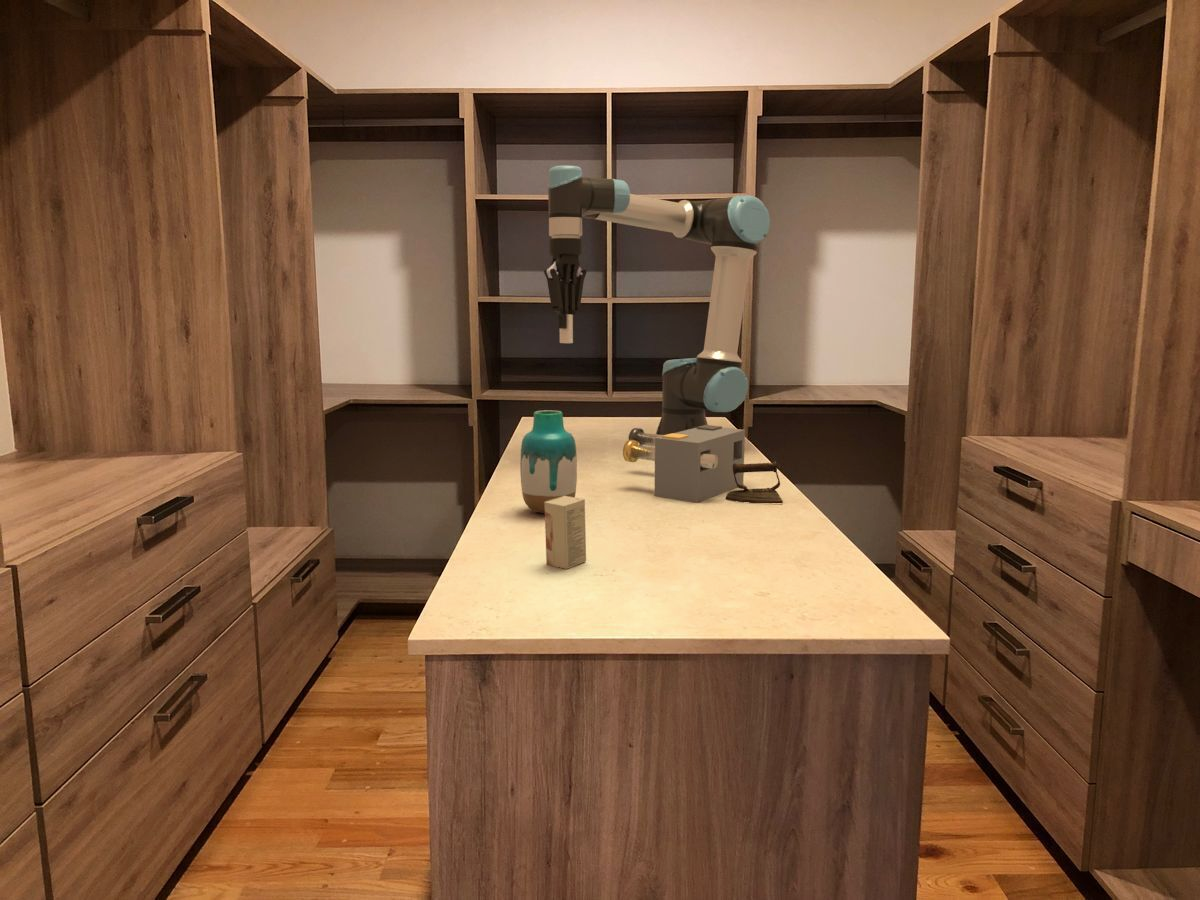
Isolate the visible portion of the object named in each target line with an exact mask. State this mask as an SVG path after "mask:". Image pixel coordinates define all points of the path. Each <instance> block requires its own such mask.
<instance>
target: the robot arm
mask: <svg viewBox="0 0 1200 900" xmlns="http://www.w3.org/2000/svg"><path fill="white" fill-rule="evenodd" d="M547 178H548V179H547V191H548V192H547V193H548V200H547V201H548V236H549V237H551V238H549V240H548V255H550V256H552V259H551V262H550V263H551V264H550V266H549V268H544V271H543V273H544V276H545V278H546V282H547V288H548V289H547V290H548V295H549V300H550V305H551V306H550V307H551V311H552V312H553V313H554V315H558V328H559V343H560V344H573V343H574V339H573V338H574V335H573V334H574V331H573V330H574V324H575V323H574V322H575V321H574V320H575V319H574V317H575V315H578V313H579V312H580V310H581V304H582V303H581V302H582V295H583V288H584V282H585V281H584V280H585V277H586V275H587V273H588V271H587V270H586V269H582V268H581V266H580V264H581V263H580V260H579V259H580V258H579V257H581V256H582V254H583V240H582V238H581V237H582V236H583V218H584V219H592V220H597V221H602V222H603V221H604V222H610V223H616V224H621V225H626V226H632V227H638V228H645V229H650V230H655V231H662V232H667V233H672V234H673V236H674V237H676V238H678V239H685V240H688V241H689V240H690V241H693V242H697V243H701V244H706V245H710V250H711V252H712V253H713V254H714V256H715V261H714V266H713V267H714V268H713V274H712V275H713V277H712V283H711V293H710V297H709V298H710V299H709V307H708V314H707V315H708V316H707V323H706V330H705V337H704V345H703V350H702V351H701V352H700V353H699V354H697V356H696V357H692V358H691V357H690V358H689V357H688V358H679V359H678V358H677V359H669V360H665V362H664V363H663V365H662V367H663V368H662V373H661V376H662V393H661V394H662V398H661V399H662V404H661V406H662V407H661V408H662V409H661V410H662V412H661V418H660V420H659V424H658V426H657V429H656V433H655V434H657V435H667V434H671V433H677V432H681V431H685V430H689V429H693V428H697V427H699V426H703V425H709V424H708V421H707V417H706V411H710V412H713V413H729V412H732V411H735V410H736V409H737V408H738V407H739V406H741V405H742V404H743V402H744V400H745V399H746V397H747V395H748V390H749V381H748V378H747V376H746V374H745V373H746V372H744V371H743V369H742V366H743V360H742V359H741V358H740V356H739V354H738V352H739V344H740V335H741V327H742V320H743V314H744V313H743V312H744V306H745V305H744V303H745V297H746V291H747V282H748V277H749V276H748V274H749V268H750V267H749V266H750V261H751V259H752V258H753V257H754V256H755V255H757V252H758V247H759V243H760V242H762V241H764V239H765V238H766V237H767V235H768V233H769V231H770V227H771V218H770V213H769V211H768V208H767V207H766V206H765V204H764V202H763V201H762V200H761V199H759V198H758V197H755V196H753V195H749V194H748V195H741V194H738V195H735V196H730V197H729V196H728V197H723V198H714V199H708V200H707V199H706V200H697V201H696V200H693V201H692V200H687V199H683V200H679V201H678V202H675V201H670V200H664V199H660V198H654V197H648V196H644V195H638V194H633V193H631V190H630V186H629V185H628V183H627V182H626V181H625V180H622V179H615V178H602V177H601V178H599V177H586V176H583V170H582V168H581V167H580V166H576V165H566V164H565V165H555V166H552V167H551V168H550V169H549V171H548V177H547Z"/></svg>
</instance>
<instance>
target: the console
mask: <svg viewBox="0 0 1200 900" xmlns="http://www.w3.org/2000/svg"><path fill="white" fill-rule="evenodd" d="M745 438H746V430H745V429H740V428H739V429H738V428H730V427H723V426H720V425H710V424H708V425H703V426H699V427H697V428H693V429H689V430H685V431H681V432H677V433H671V434H667V435H663V436H661V437H657V438H655V461H654V487H653V488H654V497H659V498H667V499H670V500H671V499H673V500H679V501H684V502H691V503H696V504H697V503H701V502H703V501H705V500H708V499H710V498H712V497H715V496H717V495H720V494H723V493H726V492H729V491H732V490H733V489H734V490H735V489H736V488H739V487H738V486H737V485H736V482H735V478H734V473H733V463H736V464H745V441H746V440H745ZM701 453H704V454H712V455H716V456H717V457H718V464H717V466H716V468H715V469H711V468H703V467H700V459H701ZM744 473H745V472H744ZM744 473H736V474H735V476H736V480H737V483H738V484H739V485H743V486H744V476H745V475H744Z"/></svg>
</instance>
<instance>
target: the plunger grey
mask: <svg viewBox="0 0 1200 900" xmlns="http://www.w3.org/2000/svg"><path fill="white" fill-rule="evenodd" d="M661 436H663V435H657V434H656V433H647V432H645V431H644V429H643V428H640V427H633V428H632V429H631V430H630V432H629V435H628V440H635V441H638V442H639V444H640V446H648V447H655V438H657V437H661Z"/></svg>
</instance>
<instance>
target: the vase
mask: <svg viewBox="0 0 1200 900" xmlns="http://www.w3.org/2000/svg"><path fill="white" fill-rule="evenodd" d="M564 426H565V425H564V415H563V412H562V411H561V410H552V409H551V410H549V409H548V410H547V409H544V410H536V411H534V412H533V422H532V429H531V430H530V431H529V432H527V433H526V434H524V436H523V438H522V441H521V447H520V484H521V493H522V494H521V495H522V498H523V501H524V503H525V505H526V506H527V507H528V508H529V509H530V510H532V511H534V512H536V513H543V514H545V504H544V502H546V501H549V500H552V499H555V498H559V497H562V496H570V497H575V496H576V492H577V482H578V481H577V480H578V461H577V460H578V458H577V445H576V440H575V438H574V435H572V433H570V432H569V431H567V430H566V429H565V427H564ZM575 498H576V497H575Z"/></svg>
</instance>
